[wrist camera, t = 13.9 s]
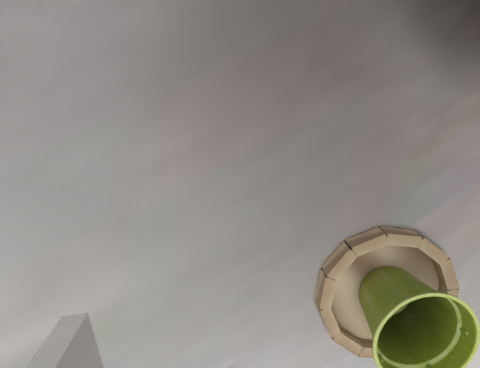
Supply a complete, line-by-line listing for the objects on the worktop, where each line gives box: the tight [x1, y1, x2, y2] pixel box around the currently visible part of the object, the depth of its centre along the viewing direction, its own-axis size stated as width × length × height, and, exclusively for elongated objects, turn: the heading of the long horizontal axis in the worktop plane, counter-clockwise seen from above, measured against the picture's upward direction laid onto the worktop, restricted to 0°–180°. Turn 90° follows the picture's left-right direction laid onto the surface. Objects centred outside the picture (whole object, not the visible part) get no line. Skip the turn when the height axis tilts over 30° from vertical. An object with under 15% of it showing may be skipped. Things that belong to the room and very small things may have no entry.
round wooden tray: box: [315, 226, 459, 358], centre depth 41 cm, size 14×14×2 cm
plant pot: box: [358, 266, 480, 368], centre depth 37 cm, size 9×9×9 cm
